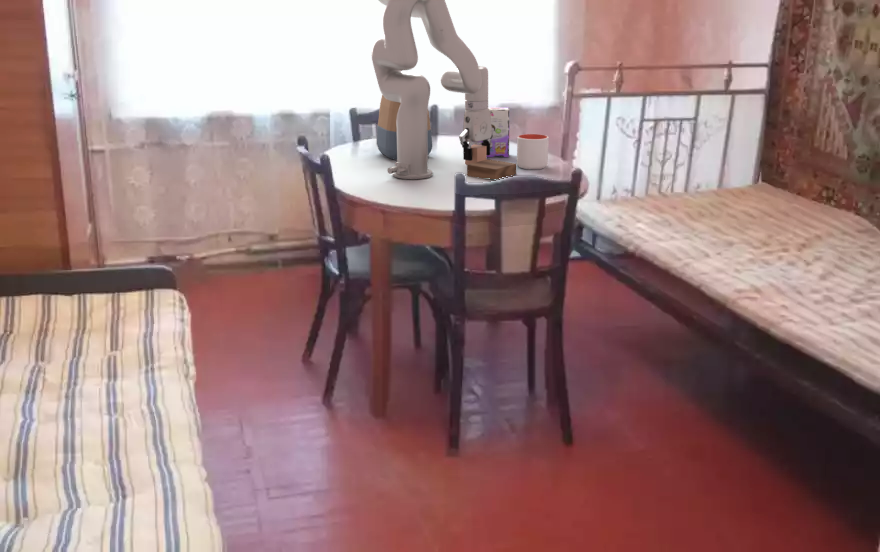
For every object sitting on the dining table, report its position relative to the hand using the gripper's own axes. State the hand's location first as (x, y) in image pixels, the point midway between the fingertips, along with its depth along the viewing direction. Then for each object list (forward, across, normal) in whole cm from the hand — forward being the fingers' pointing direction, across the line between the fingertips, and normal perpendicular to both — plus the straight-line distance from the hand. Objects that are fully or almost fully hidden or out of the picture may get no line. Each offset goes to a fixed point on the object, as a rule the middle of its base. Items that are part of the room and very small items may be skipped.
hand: (476, 157), depth 312 cm
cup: (+3, +8, -17) cm, 19 cm away
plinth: (+2, -10, -14) cm, 18 cm away
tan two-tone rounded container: (+2, -4, +28) cm, 29 cm away
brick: (+2, 0, 0) cm, 2 cm away
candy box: (+3, +14, +5) cm, 15 cm away
